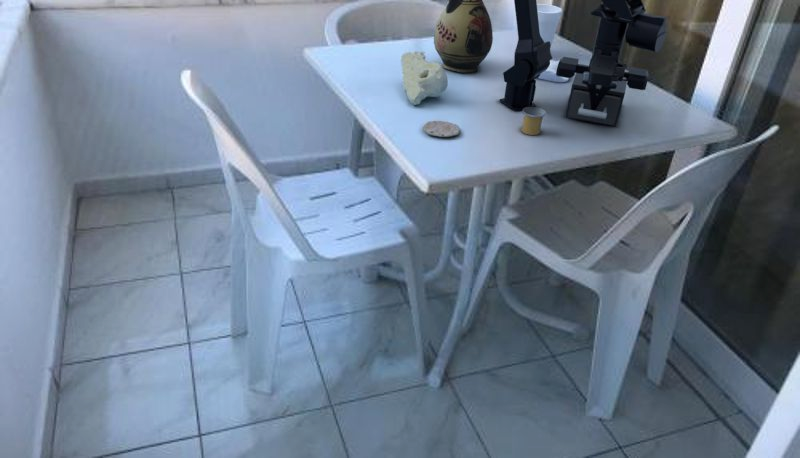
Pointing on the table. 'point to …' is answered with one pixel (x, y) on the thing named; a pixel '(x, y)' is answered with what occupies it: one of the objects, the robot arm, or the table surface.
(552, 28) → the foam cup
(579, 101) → the drawer
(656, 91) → the table surface
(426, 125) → the flatbread
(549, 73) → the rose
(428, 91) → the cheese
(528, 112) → the coffee pod
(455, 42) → the ceramic jug
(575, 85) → the mini drawer cabinet
